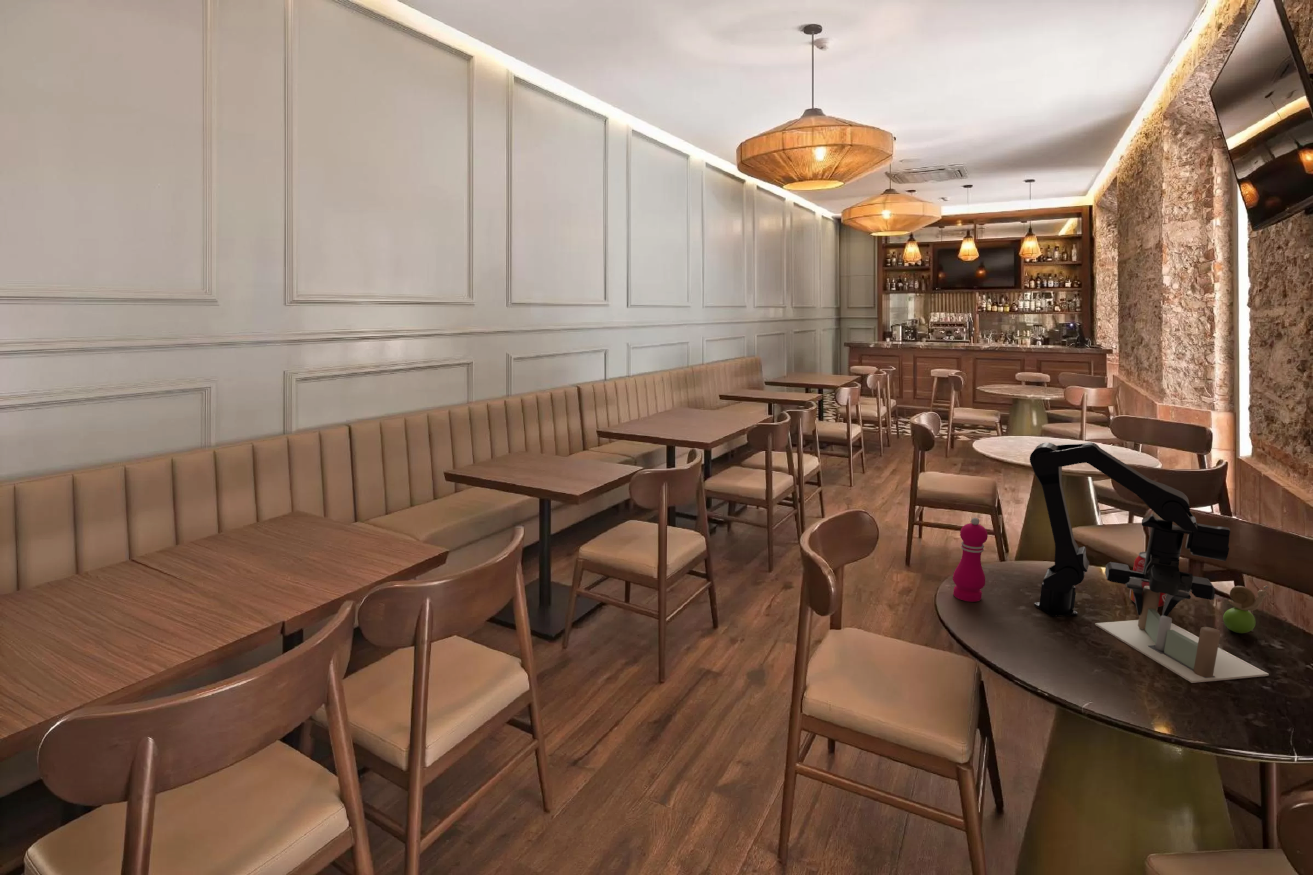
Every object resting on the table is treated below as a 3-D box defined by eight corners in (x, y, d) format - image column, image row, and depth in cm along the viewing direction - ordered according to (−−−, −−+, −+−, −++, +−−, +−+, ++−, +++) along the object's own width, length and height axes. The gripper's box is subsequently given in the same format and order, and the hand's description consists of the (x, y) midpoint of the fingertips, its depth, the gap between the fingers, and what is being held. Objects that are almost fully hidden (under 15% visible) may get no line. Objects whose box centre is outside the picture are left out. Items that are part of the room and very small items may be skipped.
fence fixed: (1216, 676, 134) (1224, 633, 132) (1203, 678, 133) (1211, 634, 131) (1163, 646, 145) (1169, 606, 143) (1150, 647, 145) (1156, 606, 143)
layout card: (1191, 682, 132) (1192, 680, 132) (1094, 624, 156) (1095, 622, 155) (1268, 675, 135) (1268, 673, 135) (1161, 619, 158) (1162, 617, 158)
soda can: (1153, 597, 170) (1160, 551, 167) (1171, 610, 163) (1179, 562, 160) (1122, 596, 170) (1129, 549, 168) (1138, 609, 163) (1146, 560, 161)
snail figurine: (1251, 641, 148) (1261, 588, 146) (1216, 629, 154) (1225, 577, 151) (1263, 636, 151) (1273, 584, 148) (1228, 623, 156) (1238, 573, 154)
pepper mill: (945, 590, 173) (953, 513, 169) (973, 589, 174) (981, 512, 170) (960, 603, 166) (969, 522, 162) (989, 602, 167) (998, 522, 163)
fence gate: (1167, 645, 145) (1174, 605, 143) (1150, 643, 146) (1157, 603, 144) (1151, 625, 154) (1157, 586, 152) (1135, 623, 155) (1141, 585, 153)
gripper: (1116, 552, 146) (1104, 621, 149) (1228, 571, 137) (1212, 643, 141) (1110, 536, 155) (1099, 601, 159) (1215, 553, 147) (1200, 621, 150)
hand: (1150, 616), depth 152 cm, fingers open, 4 cm apart
